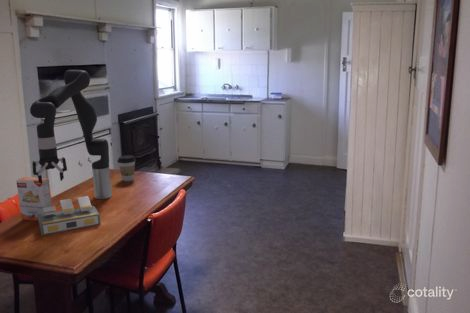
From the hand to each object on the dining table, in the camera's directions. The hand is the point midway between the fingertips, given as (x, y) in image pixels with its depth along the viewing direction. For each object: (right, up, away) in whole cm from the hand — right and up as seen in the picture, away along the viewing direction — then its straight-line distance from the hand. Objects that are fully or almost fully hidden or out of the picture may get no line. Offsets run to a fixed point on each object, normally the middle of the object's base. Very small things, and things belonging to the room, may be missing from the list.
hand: (51, 181), depth 207 cm
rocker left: (-3, -14, +6) cm, 16 cm away
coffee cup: (+15, -4, +83) cm, 85 cm away
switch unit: (+5, -21, +10) cm, 24 cm away
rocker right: (+11, -12, +14) cm, 21 cm away
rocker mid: (+4, -12, +10) cm, 16 cm away
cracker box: (-14, -20, +18) cm, 30 cm away
